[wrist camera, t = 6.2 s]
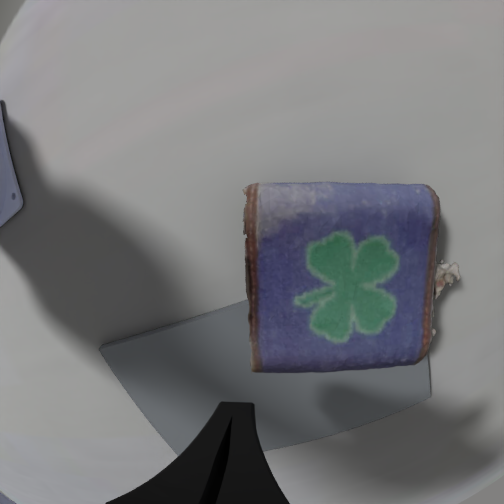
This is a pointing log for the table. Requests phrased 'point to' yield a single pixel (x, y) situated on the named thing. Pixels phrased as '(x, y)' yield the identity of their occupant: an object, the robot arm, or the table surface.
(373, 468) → the table surface
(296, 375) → the mat
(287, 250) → the clover print pouch
